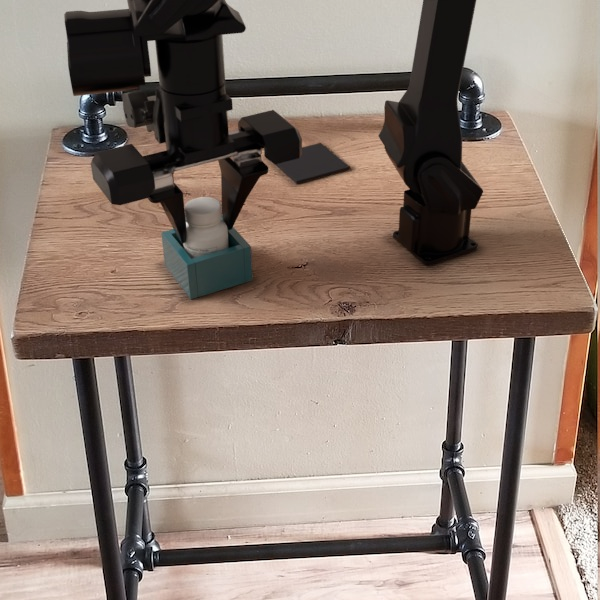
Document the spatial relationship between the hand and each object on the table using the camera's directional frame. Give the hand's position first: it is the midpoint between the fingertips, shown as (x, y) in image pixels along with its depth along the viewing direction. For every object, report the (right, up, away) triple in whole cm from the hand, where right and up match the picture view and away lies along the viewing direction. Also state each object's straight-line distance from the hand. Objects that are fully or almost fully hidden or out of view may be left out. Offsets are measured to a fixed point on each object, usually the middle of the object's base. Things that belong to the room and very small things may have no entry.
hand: (205, 234), depth 95 cm
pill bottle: (0, -4, +3) cm, 5 cm away
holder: (0, -4, +3) cm, 4 cm away
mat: (+10, +10, +21) cm, 25 cm away
